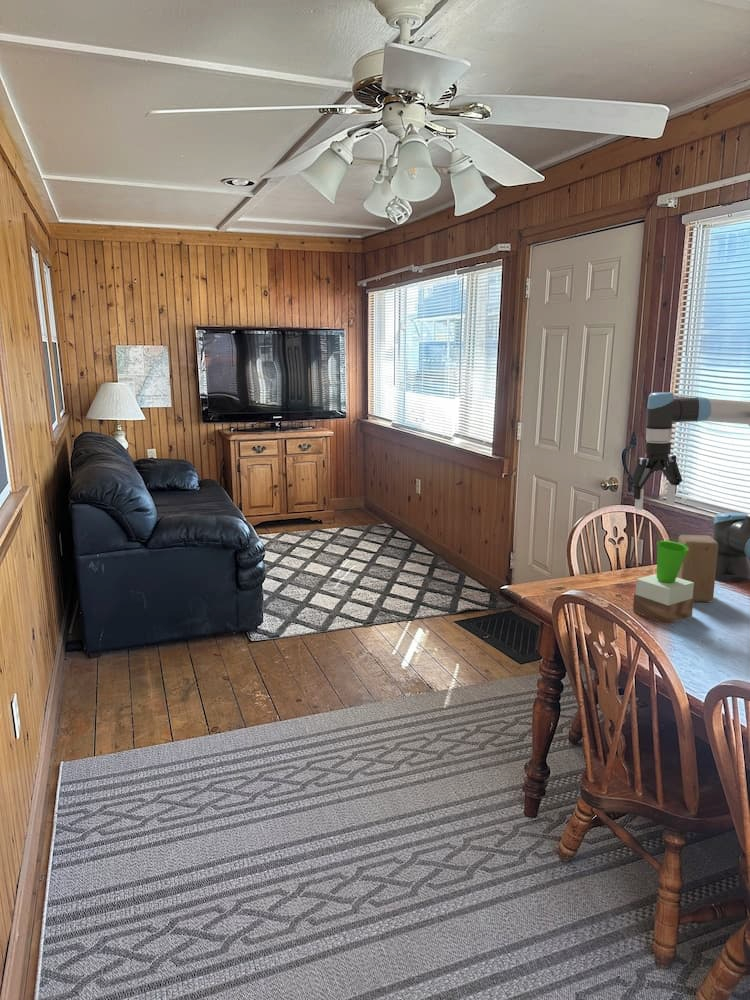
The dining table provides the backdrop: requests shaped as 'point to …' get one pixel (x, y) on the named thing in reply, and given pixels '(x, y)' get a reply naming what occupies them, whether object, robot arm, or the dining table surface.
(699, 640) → the dining table surface
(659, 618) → the tower base
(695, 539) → the wooden block
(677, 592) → the tower top
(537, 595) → the dining table surface
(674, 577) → the cup
